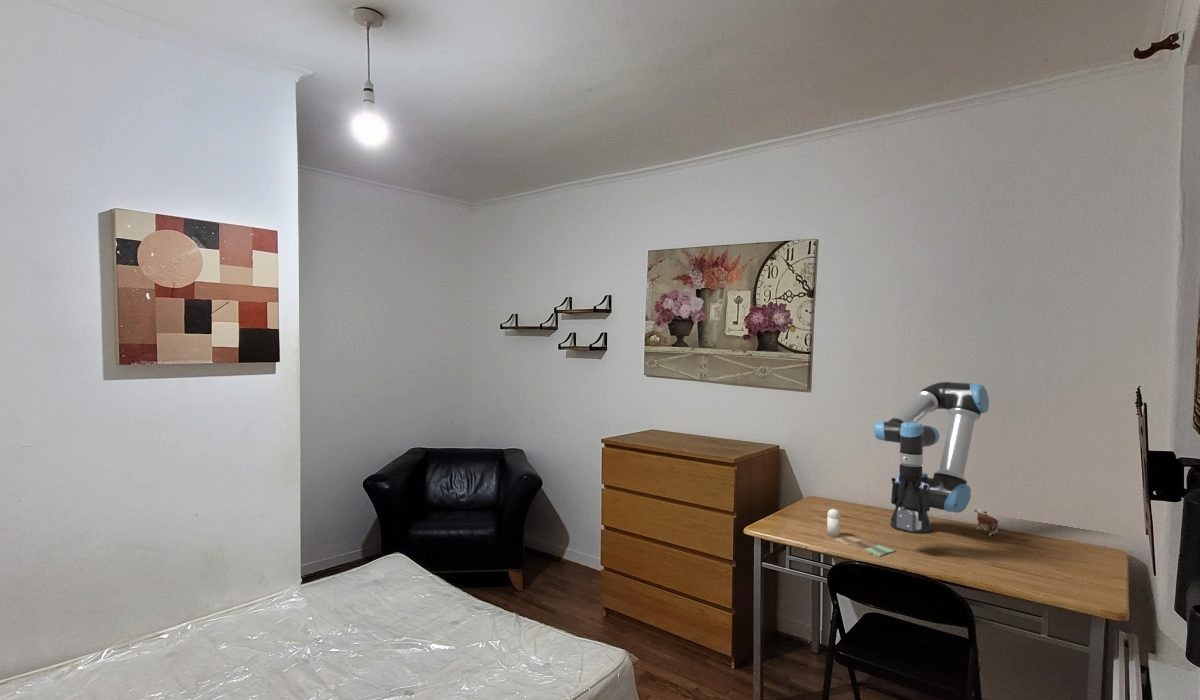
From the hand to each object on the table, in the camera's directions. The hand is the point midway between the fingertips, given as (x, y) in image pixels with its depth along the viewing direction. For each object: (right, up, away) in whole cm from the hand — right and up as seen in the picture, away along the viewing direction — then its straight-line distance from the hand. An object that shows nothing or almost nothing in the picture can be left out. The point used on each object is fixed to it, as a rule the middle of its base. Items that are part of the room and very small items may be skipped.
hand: (909, 526), depth 220 cm
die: (0, 0, 0) cm, 1 cm away
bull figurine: (+44, -10, +24) cm, 51 cm away
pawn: (-22, -8, +16) cm, 28 cm away
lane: (-17, -9, +8) cm, 20 cm away
